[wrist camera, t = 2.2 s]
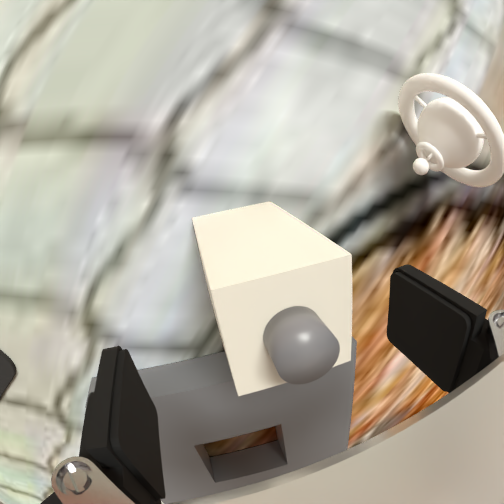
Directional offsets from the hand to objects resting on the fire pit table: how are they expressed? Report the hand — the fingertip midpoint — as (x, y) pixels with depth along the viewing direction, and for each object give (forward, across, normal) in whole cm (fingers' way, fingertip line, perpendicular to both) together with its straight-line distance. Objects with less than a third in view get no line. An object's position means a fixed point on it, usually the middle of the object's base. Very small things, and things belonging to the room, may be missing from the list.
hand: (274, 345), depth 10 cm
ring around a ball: (+9, -13, -5) cm, 17 cm away
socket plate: (+9, +2, +16) cm, 18 cm away
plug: (+9, -1, 0) cm, 9 cm away
